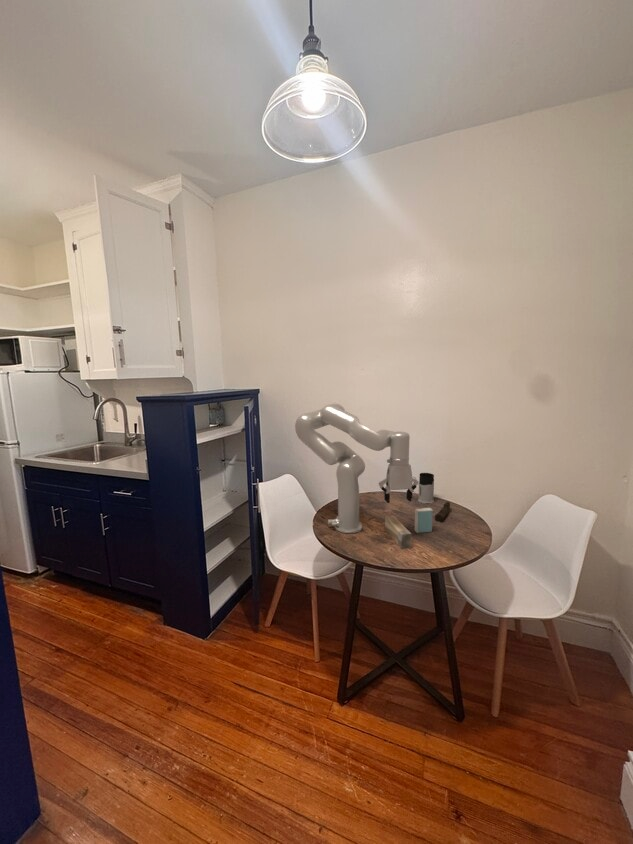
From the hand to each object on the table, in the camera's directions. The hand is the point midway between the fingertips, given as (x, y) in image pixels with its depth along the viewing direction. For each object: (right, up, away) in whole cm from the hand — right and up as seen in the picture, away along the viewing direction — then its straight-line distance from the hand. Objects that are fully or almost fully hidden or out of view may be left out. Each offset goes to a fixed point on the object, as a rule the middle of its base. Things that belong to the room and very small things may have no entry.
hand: (398, 501), depth 136 cm
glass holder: (+24, -11, +44) cm, 51 cm away
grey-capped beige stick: (0, -16, +2) cm, 16 cm away
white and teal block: (+13, -15, +8) cm, 22 cm away
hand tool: (+29, -13, +25) cm, 40 cm away
